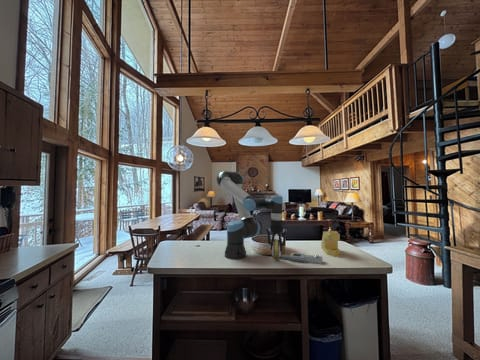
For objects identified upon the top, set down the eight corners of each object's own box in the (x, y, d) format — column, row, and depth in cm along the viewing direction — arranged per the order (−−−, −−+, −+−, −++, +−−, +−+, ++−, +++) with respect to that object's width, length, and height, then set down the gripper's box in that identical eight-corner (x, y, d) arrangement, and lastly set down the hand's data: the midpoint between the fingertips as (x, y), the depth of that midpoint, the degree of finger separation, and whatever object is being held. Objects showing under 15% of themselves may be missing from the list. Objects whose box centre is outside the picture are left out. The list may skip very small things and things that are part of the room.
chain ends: (272, 258, 144) (272, 253, 144) (275, 255, 152) (275, 249, 152) (322, 264, 132) (322, 258, 132) (322, 260, 140) (322, 254, 140)
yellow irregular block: (341, 256, 148) (341, 233, 149) (327, 256, 150) (327, 232, 151) (333, 248, 168) (333, 228, 169) (321, 248, 170) (321, 227, 170)
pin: (273, 258, 140) (273, 240, 141) (274, 257, 144) (274, 238, 144) (278, 259, 139) (278, 240, 139) (279, 257, 142) (279, 239, 143)
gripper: (262, 219, 142) (262, 255, 141) (288, 221, 136) (288, 259, 135) (265, 217, 149) (265, 252, 148) (290, 219, 142) (290, 255, 142)
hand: (276, 255), depth 141 cm, fingers closed on pin, 3 cm apart
